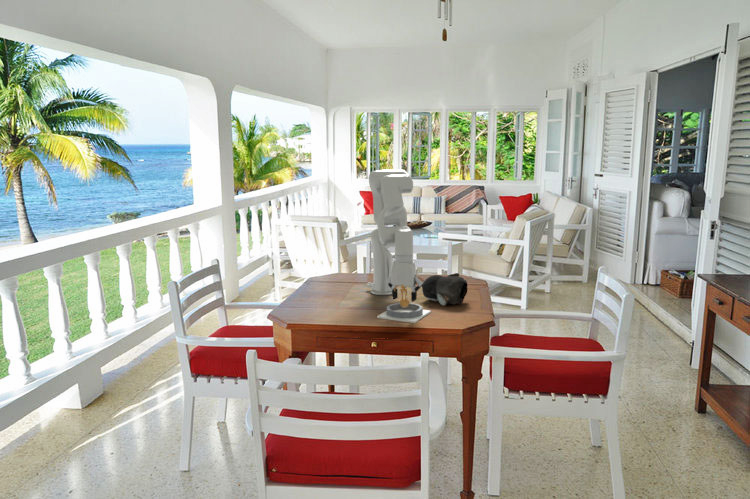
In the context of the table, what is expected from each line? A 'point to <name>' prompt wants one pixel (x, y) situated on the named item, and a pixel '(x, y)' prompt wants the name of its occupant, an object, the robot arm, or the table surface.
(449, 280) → the dark grey rounded piece
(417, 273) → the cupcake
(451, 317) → the table surface
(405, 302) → the figurine
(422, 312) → the ring stand
